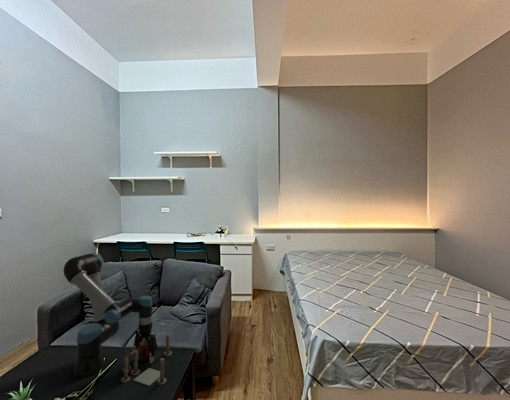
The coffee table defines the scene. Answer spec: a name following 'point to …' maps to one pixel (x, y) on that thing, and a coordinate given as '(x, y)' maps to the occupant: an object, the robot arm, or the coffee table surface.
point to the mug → (144, 351)
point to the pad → (148, 377)
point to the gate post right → (161, 373)
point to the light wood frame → (128, 368)
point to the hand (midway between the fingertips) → (145, 359)
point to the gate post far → (167, 346)
